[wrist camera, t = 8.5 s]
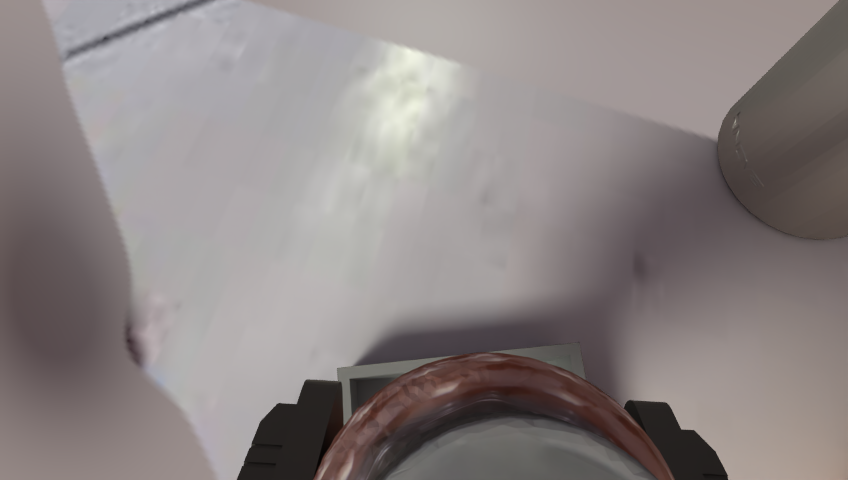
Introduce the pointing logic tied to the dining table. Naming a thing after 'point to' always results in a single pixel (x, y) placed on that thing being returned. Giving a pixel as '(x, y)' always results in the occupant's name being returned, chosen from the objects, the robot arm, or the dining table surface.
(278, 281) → the dining table surface
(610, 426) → the supplement bottle
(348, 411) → the tray
